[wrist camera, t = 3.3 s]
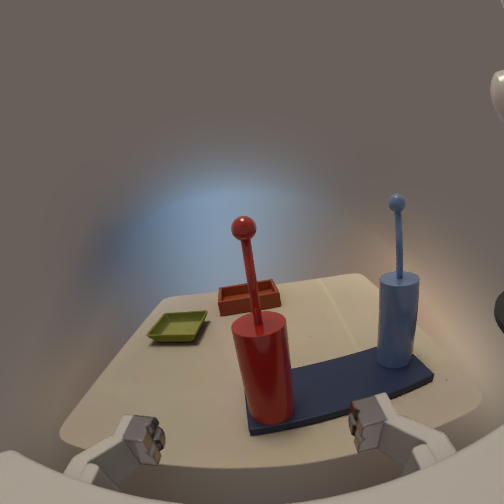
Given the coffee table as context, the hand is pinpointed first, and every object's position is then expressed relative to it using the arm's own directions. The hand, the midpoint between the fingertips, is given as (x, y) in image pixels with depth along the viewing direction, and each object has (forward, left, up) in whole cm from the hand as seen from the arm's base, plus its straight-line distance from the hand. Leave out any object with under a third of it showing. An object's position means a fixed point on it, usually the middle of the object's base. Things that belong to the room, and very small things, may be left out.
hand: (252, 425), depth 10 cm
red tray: (-1, -43, -12) cm, 45 cm away
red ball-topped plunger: (-1, -12, -11) cm, 17 cm away
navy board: (-9, -14, -12) cm, 21 cm away
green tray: (+11, -34, -12) cm, 38 cm away
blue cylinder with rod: (-16, -15, -11) cm, 25 cm away
